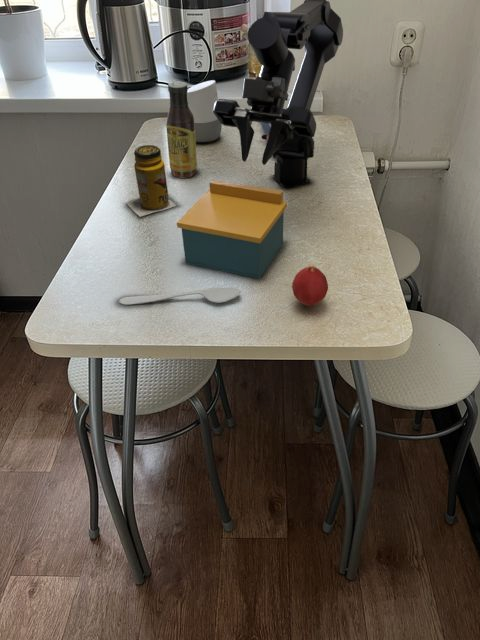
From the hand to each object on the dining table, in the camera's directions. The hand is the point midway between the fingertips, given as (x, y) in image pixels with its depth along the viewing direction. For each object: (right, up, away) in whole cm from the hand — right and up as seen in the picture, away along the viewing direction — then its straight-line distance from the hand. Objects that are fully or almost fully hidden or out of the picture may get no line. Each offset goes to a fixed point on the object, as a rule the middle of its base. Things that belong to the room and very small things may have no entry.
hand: (253, 162), depth 107 cm
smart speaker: (-13, +20, +43) cm, 50 cm away
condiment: (-22, -4, +17) cm, 28 cm away
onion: (+9, -27, -10) cm, 31 cm away
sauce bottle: (-16, +6, +28) cm, 33 cm away
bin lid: (-4, -11, -3) cm, 12 cm away
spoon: (-12, -26, -9) cm, 30 cm away
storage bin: (-3, -16, +2) cm, 17 cm away
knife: (+4, +20, +43) cm, 48 cm away
